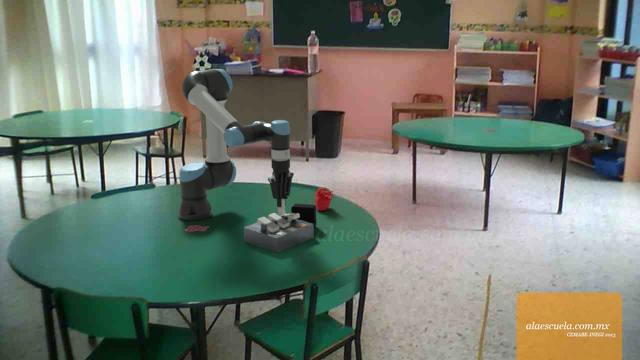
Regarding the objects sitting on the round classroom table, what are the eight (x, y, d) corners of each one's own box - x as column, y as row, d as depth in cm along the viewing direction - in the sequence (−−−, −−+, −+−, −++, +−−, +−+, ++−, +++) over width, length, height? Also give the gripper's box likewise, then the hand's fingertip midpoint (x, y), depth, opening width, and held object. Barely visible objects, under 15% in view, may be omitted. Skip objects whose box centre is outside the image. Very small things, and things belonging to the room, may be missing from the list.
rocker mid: (267, 218, 255) (268, 214, 254) (273, 216, 258) (274, 212, 257) (283, 228, 250) (283, 224, 250) (289, 226, 253) (289, 222, 252)
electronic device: (314, 230, 266) (314, 207, 263) (291, 228, 268) (291, 206, 265) (316, 226, 270) (316, 204, 267) (293, 225, 272) (293, 203, 269)
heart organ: (331, 204, 299) (331, 180, 295) (336, 212, 288) (336, 187, 284) (310, 205, 297) (310, 181, 294) (315, 213, 286) (314, 188, 283)
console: (244, 241, 254) (243, 220, 252) (280, 227, 269) (280, 207, 267) (277, 252, 242) (276, 231, 240) (313, 237, 257) (313, 216, 255)
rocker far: (279, 219, 260) (278, 215, 260) (284, 217, 262) (284, 213, 262) (294, 219, 254) (293, 215, 253) (299, 217, 256) (299, 213, 256)
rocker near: (257, 222, 251) (257, 218, 250) (263, 219, 253) (263, 216, 253) (272, 232, 246) (273, 228, 245) (278, 230, 248) (279, 226, 248)
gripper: (275, 163, 247) (276, 219, 253) (298, 157, 256) (298, 211, 263) (262, 160, 251) (263, 215, 258) (285, 154, 261) (286, 207, 268)
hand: (281, 213), depth 261 cm, fingers closed
